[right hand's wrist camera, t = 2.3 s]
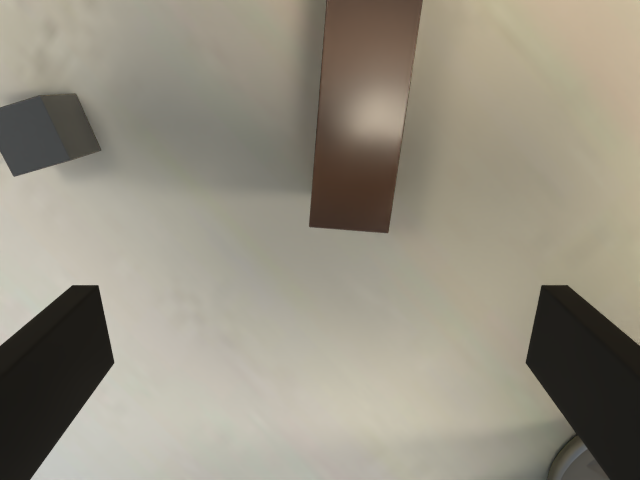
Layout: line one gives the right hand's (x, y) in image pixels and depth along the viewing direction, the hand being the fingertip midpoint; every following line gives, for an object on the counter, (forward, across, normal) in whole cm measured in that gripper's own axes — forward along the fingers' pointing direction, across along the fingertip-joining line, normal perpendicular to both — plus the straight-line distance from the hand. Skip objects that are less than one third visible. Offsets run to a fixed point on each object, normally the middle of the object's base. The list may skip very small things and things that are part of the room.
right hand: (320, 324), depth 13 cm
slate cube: (+20, +18, -4) cm, 27 cm away
